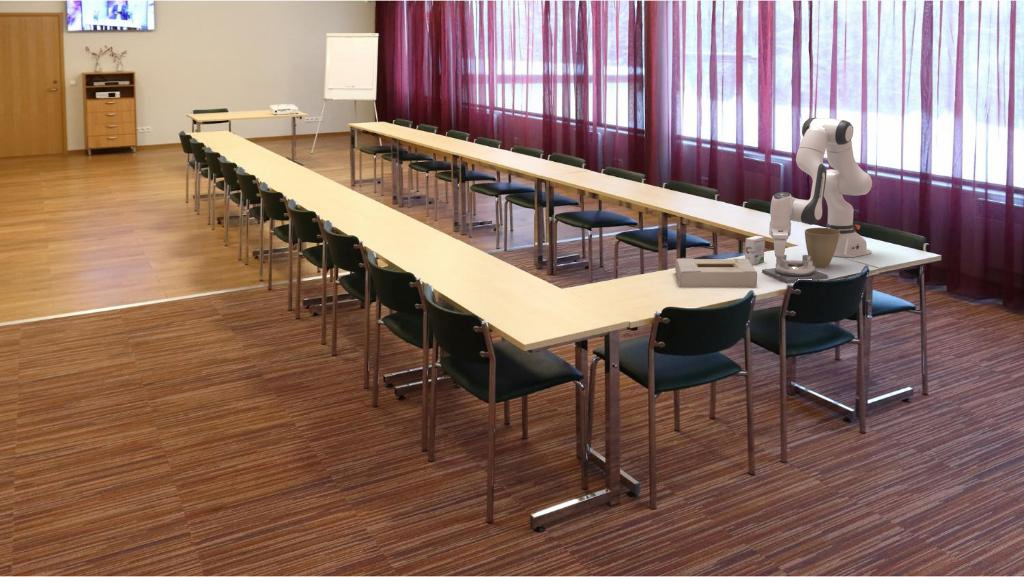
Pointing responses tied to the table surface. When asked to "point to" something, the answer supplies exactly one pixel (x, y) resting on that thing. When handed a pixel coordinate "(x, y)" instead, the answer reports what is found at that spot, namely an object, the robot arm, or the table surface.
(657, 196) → the table surface
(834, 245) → the plant pot
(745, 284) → the box
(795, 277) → the stud plate
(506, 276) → the table surface
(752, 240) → the ink box
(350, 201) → the table surface
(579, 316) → the table surface
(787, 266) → the ring nut
